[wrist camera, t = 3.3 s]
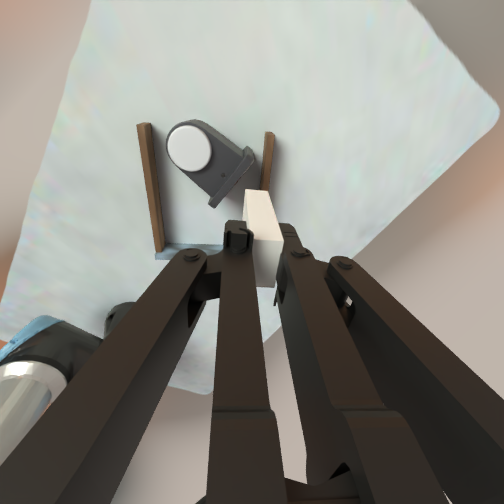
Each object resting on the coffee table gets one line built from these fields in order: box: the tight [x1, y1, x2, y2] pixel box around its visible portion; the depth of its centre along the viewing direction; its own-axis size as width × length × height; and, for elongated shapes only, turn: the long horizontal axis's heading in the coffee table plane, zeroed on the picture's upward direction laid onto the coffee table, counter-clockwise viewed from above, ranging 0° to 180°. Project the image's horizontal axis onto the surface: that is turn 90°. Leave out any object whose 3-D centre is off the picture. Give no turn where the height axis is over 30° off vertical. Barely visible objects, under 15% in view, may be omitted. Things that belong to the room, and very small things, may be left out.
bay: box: [136, 123, 275, 260], centre depth 51 cm, size 23×26×5 cm
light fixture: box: [166, 119, 254, 208], centre depth 44 cm, size 11×13×11 cm
